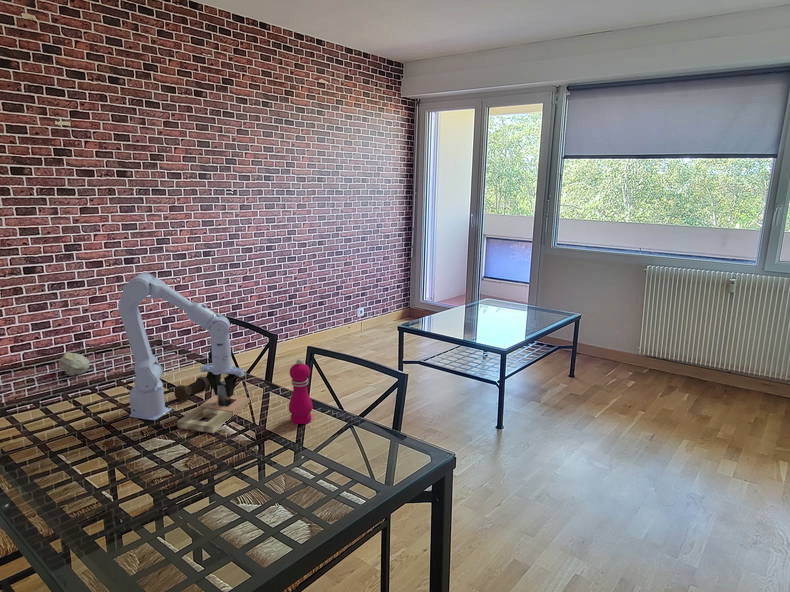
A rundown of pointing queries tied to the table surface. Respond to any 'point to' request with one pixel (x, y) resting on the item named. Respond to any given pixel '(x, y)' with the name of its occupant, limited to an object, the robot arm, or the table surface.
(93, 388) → the table surface
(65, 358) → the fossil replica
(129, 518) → the table surface
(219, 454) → the table surface
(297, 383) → the pepper mill
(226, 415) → the pin mount
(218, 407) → the socket block
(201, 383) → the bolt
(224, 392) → the pin
